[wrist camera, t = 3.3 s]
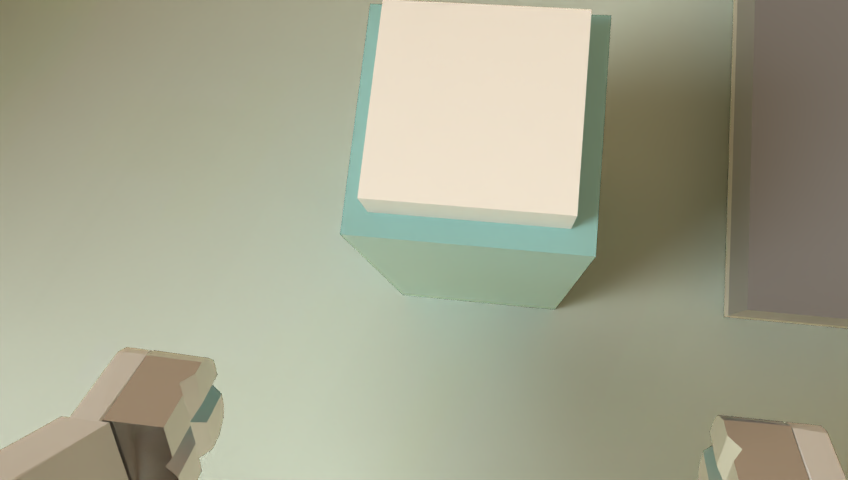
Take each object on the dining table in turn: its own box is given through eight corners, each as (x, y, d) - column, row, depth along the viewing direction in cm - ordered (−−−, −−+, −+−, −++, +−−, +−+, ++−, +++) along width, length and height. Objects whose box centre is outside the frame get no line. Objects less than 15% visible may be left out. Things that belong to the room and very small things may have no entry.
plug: (402, 295, 22) (327, 222, 12) (419, 151, 23) (360, -26, 13) (554, 309, 21) (604, 246, 12) (565, 162, 22) (620, -14, 12)
